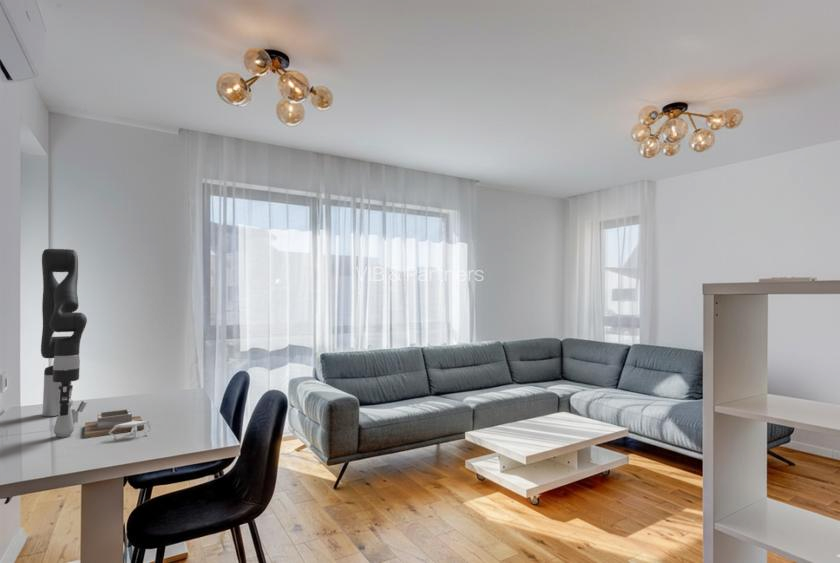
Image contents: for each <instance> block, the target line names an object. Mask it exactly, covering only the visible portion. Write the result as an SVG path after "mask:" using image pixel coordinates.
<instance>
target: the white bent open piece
mask: <svg viewBox="0 0 840 563" xmlns="http://www.w3.org/2000/svg"><path fill="white" fill-rule="evenodd" d="M142 424H144V425H146V426H147V428H148V429H149V430H147V431H146V432H144V434H145V435H146V436H148V435H149V434H148V433H149V432H151V431H152V428H151V424H150V420H142V421H131V422H127V423H123V424H119V425H115V426H114V428H113V429H112V430H111V431H110V432H109V435H111V436H112V437H113V439H117V436H116V435H115V434H112V433H111V432H112V431H113V430H115V429H116V428H117V427H130V426H132V430H131V431H130V434H131V435H133V439H136V438H137V436H136V435H137V431H138V430H137V426H138V425H142ZM135 437H136V438H135Z"/></svg>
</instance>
